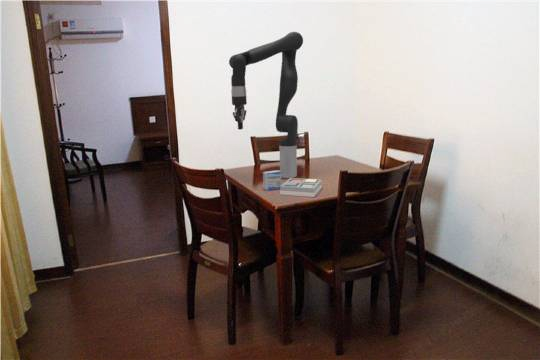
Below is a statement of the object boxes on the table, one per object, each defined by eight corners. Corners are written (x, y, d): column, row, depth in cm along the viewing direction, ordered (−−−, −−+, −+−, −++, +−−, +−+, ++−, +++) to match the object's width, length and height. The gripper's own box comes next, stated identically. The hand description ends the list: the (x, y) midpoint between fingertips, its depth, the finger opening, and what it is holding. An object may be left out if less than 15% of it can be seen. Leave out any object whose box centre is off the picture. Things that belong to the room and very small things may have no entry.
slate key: (288, 185, 191) (288, 181, 191) (298, 185, 190) (298, 182, 189) (285, 188, 187) (284, 184, 186) (295, 188, 185) (295, 185, 185)
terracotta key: (292, 183, 198) (292, 179, 198) (302, 183, 197) (302, 180, 196) (289, 185, 194) (289, 182, 193) (299, 186, 192) (299, 182, 192)
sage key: (303, 187, 189) (303, 184, 189) (313, 188, 188) (313, 185, 187) (300, 190, 185) (300, 187, 184) (311, 191, 183) (311, 187, 183)
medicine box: (266, 190, 194) (266, 173, 191) (263, 188, 198) (262, 171, 195) (281, 188, 197) (281, 171, 194) (277, 186, 201) (277, 169, 198)
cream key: (307, 182, 196) (307, 178, 195) (317, 182, 194) (317, 179, 194) (304, 184, 191) (304, 181, 191) (314, 185, 190) (314, 182, 189)
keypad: (290, 185, 201) (290, 178, 200) (321, 187, 196) (321, 179, 195) (280, 194, 187) (280, 186, 186) (314, 197, 181) (314, 188, 180)
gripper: (237, 94, 213) (239, 127, 217) (226, 96, 201) (228, 130, 205) (250, 94, 210) (251, 127, 215) (240, 96, 198) (242, 131, 202)
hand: (240, 129), depth 210 cm, fingers closed
